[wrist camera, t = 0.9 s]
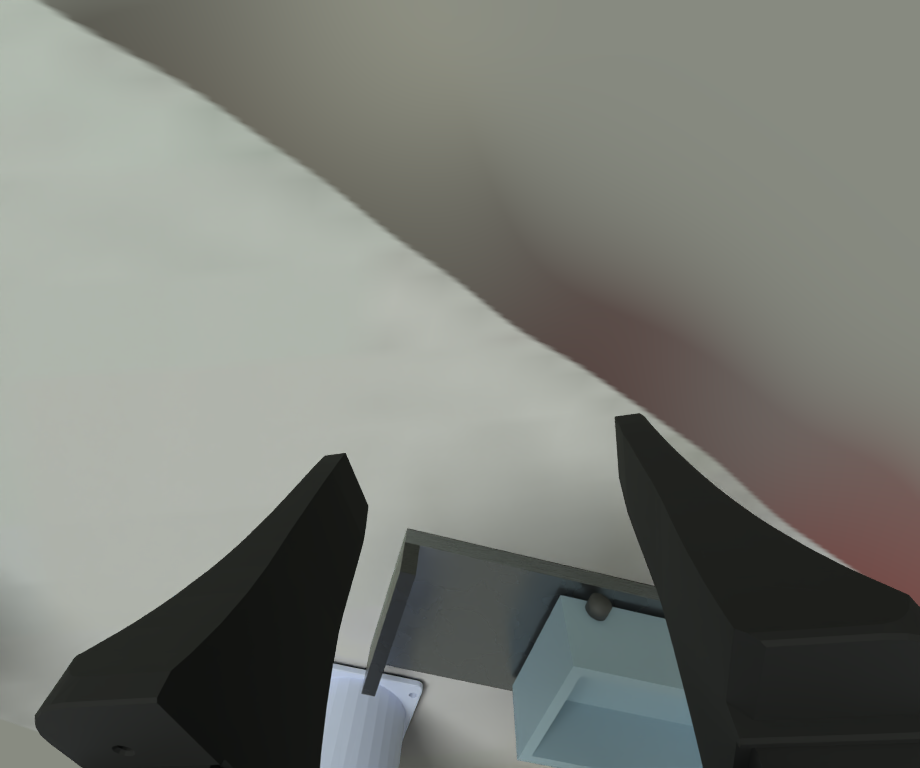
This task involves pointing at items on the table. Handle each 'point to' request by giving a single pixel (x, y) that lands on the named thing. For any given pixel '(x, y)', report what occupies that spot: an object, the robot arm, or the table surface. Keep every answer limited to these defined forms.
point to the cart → (603, 692)
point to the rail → (478, 609)
